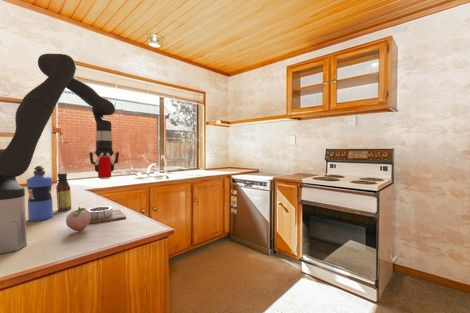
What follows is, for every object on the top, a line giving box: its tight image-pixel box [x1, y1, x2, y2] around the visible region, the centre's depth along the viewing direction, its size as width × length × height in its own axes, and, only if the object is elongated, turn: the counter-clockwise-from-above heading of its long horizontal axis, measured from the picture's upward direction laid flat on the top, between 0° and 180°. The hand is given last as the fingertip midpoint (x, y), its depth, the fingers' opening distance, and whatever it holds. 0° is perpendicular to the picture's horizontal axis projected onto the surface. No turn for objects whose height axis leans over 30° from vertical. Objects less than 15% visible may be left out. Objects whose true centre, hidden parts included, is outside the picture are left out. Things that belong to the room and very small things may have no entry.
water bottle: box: [26, 165, 54, 222], centre depth 113 cm, size 9×9×25 cm
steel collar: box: [86, 205, 113, 220], centre depth 114 cm, size 10×10×4 cm
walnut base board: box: [88, 208, 127, 226], centre depth 114 cm, size 16×20×1 cm
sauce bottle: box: [55, 172, 72, 212], centre depth 129 cm, size 7×6×20 cm
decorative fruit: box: [65, 206, 91, 232], centre depth 96 cm, size 9×8×10 cm
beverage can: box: [97, 156, 112, 180], centre depth 126 cm, size 6×6×12 cm
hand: (104, 171), depth 126 cm, fingers closed on beverage can, 6 cm apart
